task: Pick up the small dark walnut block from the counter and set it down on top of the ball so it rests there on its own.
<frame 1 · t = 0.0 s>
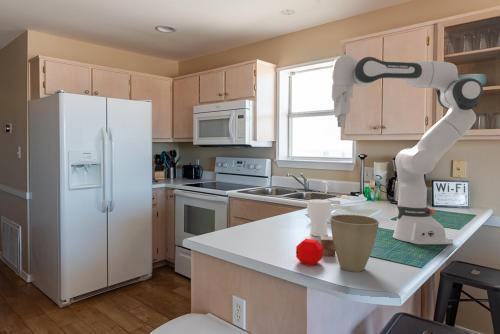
hand: (341, 126, 151), 48 cm above the countertop, fingers open, 8 cm apart
cup: (318, 234, 155), on the countertop
ball: (309, 263, 116), on the countertop
plant pot: (352, 268, 112), on the countertop
walnut block: (327, 254, 126), on the countertop
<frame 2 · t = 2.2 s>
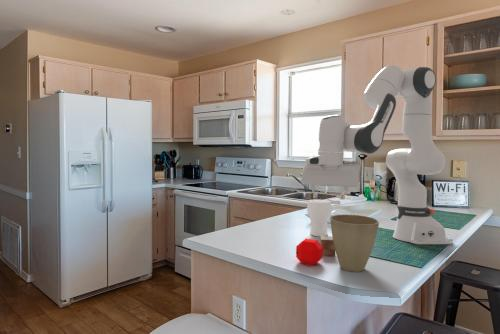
hand: (328, 198, 125), 20 cm above the countertop, fingers open, 8 cm apart
nothing on the countertop moved.
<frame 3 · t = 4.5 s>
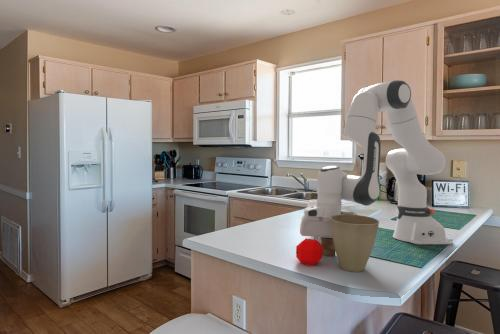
hand: (327, 248, 126), 2 cm above the countertop, fingers closed on walnut block, 5 cm apart
walnut block: (327, 254, 126), on the countertop, touching gripper
everything else where it was.
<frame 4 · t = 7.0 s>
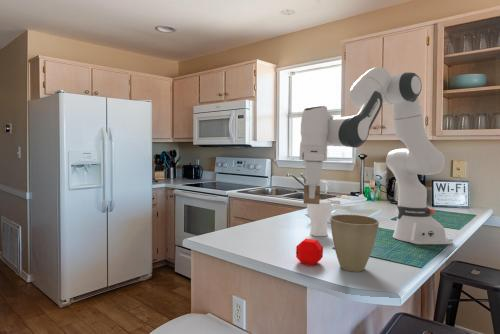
hand: (311, 197, 115), 22 cm above the countertop, fingers closed on walnut block, 5 cm apart
walnut block: (311, 202, 115), point 20 cm above the countertop, touching gripper
everything else where it was.
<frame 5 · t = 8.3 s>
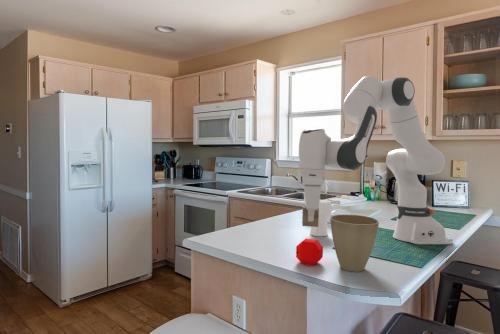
hand: (310, 219, 115), 15 cm above the countertop, fingers closed on walnut block, 5 cm apart
walnut block: (310, 224, 115), point 13 cm above the countertop, touching gripper
everything else where it was.
when the fingers open (11 cm above the countertop, at t = 9.4 s): walnut block drops 2 cm, resting on ball.
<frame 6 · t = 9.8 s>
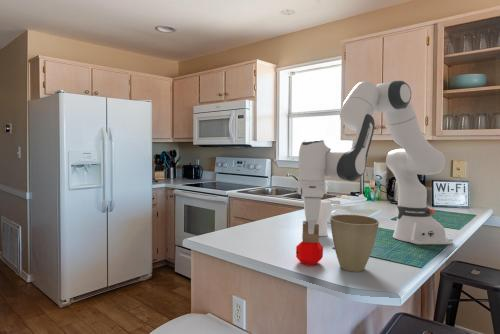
hand: (310, 230, 115), 11 cm above the countertop, fingers open, 8 cm apart
ball: (309, 263, 116), on the countertop, touching walnut block
walnut block: (310, 240, 115), point 8 cm above the countertop, touching ball
everything else where it was.
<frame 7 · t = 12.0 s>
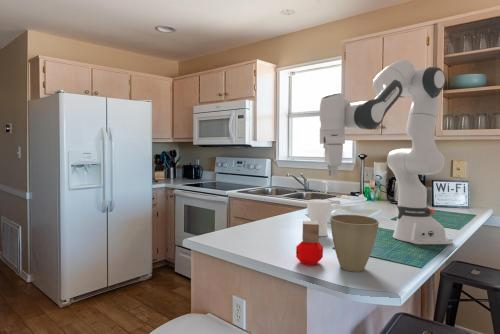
hand: (332, 176, 126), 28 cm above the countertop, fingers open, 8 cm apart
nothing on the countertop moved.
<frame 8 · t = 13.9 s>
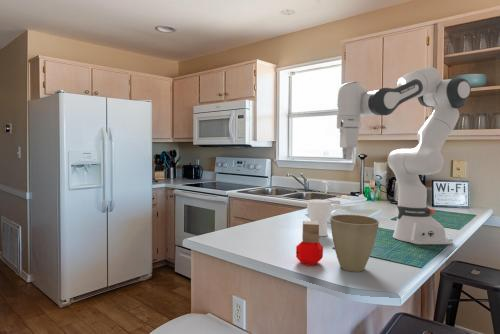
hand: (347, 159, 137), 34 cm above the countertop, fingers open, 8 cm apart
nothing on the countertop moved.
at the end: walnut block inside the target area in the ball (0.1 cm from its centre), point 7.8 cm above the ball's base; walnut block touching ball; walnut block tilted 0° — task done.
